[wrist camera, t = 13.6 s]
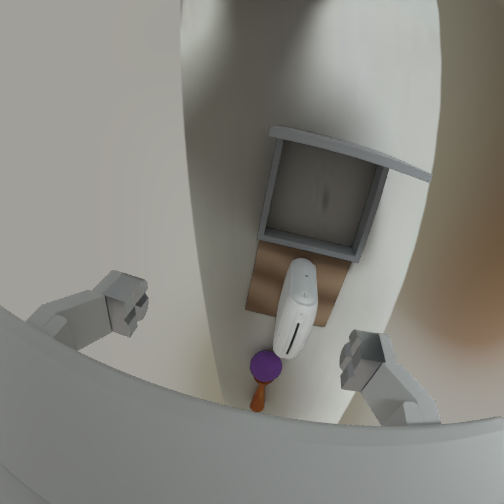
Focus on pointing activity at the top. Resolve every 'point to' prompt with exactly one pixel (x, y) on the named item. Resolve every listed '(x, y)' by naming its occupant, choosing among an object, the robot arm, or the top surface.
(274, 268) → the walnut board
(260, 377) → the maraca
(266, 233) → the equipment case
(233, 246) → the top surface
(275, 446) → the robot arm
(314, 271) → the photo printer
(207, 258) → the top surface
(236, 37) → the top surface
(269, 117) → the top surface
